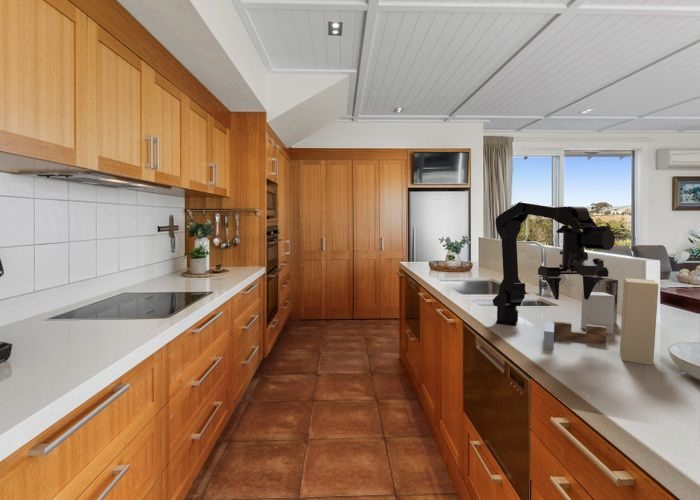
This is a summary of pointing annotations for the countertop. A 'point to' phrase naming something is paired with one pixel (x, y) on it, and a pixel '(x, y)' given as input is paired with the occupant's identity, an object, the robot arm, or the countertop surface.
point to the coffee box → (608, 291)
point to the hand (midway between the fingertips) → (571, 299)
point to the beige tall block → (638, 320)
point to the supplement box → (598, 310)
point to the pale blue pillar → (549, 335)
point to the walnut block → (591, 335)
